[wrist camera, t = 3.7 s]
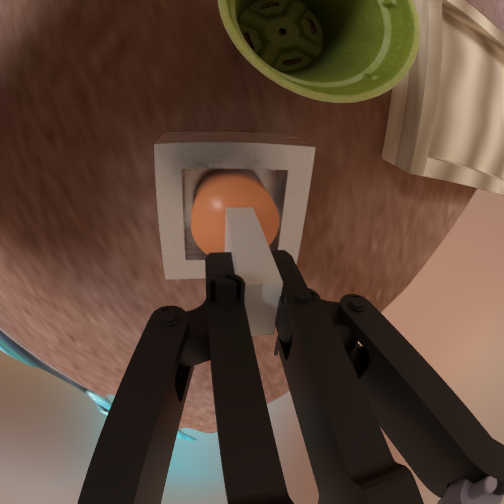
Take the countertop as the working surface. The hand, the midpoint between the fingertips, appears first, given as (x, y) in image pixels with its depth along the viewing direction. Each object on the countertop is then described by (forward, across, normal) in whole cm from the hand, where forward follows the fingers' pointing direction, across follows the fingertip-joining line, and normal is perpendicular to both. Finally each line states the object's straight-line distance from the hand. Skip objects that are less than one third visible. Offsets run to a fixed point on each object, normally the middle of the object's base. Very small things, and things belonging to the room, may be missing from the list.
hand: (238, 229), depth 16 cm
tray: (+6, +23, +12) cm, 27 cm away
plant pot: (+6, +3, +12) cm, 14 cm away
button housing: (+6, 0, 0) cm, 6 cm away
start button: (+3, 0, 0) cm, 3 cm away
